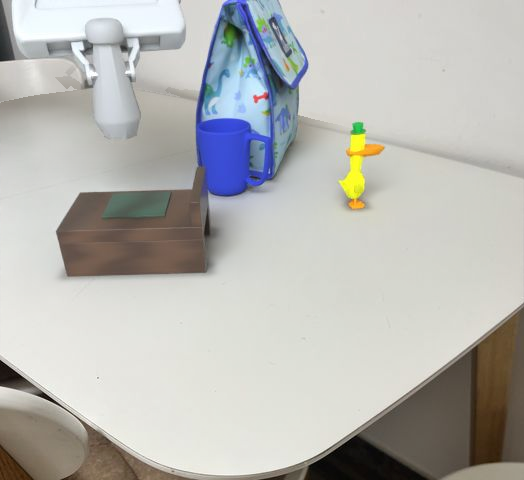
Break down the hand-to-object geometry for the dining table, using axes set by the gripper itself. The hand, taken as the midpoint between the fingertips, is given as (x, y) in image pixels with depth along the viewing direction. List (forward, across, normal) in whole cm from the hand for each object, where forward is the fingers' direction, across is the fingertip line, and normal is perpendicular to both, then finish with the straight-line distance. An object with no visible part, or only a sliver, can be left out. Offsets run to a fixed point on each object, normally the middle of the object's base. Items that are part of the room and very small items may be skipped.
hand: (111, 80), depth 69 cm
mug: (+8, -17, -20) cm, 27 cm away
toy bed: (+19, 0, -8) cm, 21 cm away
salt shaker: (+4, 0, -5) cm, 7 cm away
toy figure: (+15, -33, -12) cm, 38 cm away
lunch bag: (-3, -24, -30) cm, 39 cm away
